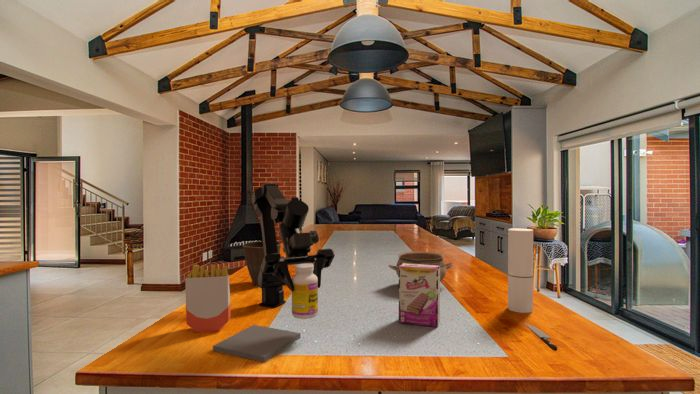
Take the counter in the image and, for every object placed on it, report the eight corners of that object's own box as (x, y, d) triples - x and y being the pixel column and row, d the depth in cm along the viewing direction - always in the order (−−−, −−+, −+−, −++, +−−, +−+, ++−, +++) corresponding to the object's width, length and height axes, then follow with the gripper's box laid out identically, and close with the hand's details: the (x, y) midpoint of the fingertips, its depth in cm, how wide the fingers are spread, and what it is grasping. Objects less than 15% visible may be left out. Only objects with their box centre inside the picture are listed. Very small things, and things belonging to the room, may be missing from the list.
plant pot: (277, 288, 147) (276, 246, 146) (238, 288, 147) (237, 247, 147) (284, 278, 162) (283, 241, 161) (249, 278, 162) (248, 241, 162)
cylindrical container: (532, 307, 122) (533, 228, 121) (533, 314, 115) (533, 231, 114) (508, 304, 125) (508, 227, 124) (507, 311, 118) (507, 230, 117)
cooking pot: (443, 279, 158) (443, 250, 157) (461, 292, 139) (461, 259, 139) (383, 282, 155) (383, 252, 155) (394, 295, 136) (394, 261, 136)
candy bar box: (398, 323, 108) (397, 266, 108) (401, 317, 113) (401, 262, 112) (438, 328, 104) (438, 268, 104) (440, 322, 109) (440, 264, 109)
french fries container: (190, 327, 107) (189, 262, 106) (230, 324, 109) (229, 261, 108) (186, 333, 102) (185, 266, 102) (228, 330, 104) (227, 264, 104)
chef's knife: (532, 323, 109) (521, 322, 109) (532, 319, 109) (521, 318, 109) (566, 352, 90) (553, 351, 90) (566, 347, 90) (553, 346, 90)
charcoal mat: (213, 350, 91) (212, 345, 91) (253, 329, 105) (253, 324, 105) (264, 362, 85) (264, 356, 85) (300, 337, 99) (300, 333, 99)
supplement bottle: (309, 321, 93) (309, 269, 93) (286, 317, 96) (285, 267, 95) (322, 312, 99) (322, 263, 99) (300, 309, 102) (300, 261, 102)
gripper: (263, 222, 96) (275, 275, 87) (331, 219, 104) (349, 267, 95) (256, 248, 104) (267, 300, 94) (321, 243, 112) (336, 290, 102)
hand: (306, 288), depth 96 cm, fingers closed on supplement bottle, 7 cm apart
